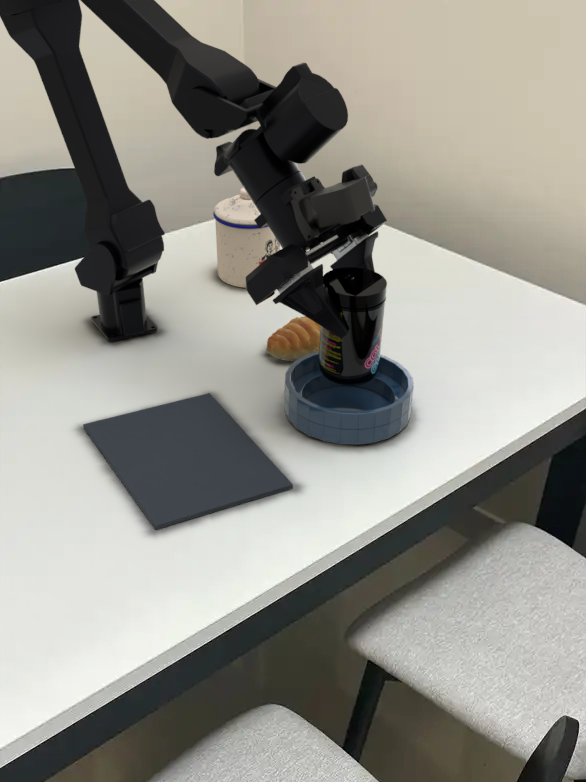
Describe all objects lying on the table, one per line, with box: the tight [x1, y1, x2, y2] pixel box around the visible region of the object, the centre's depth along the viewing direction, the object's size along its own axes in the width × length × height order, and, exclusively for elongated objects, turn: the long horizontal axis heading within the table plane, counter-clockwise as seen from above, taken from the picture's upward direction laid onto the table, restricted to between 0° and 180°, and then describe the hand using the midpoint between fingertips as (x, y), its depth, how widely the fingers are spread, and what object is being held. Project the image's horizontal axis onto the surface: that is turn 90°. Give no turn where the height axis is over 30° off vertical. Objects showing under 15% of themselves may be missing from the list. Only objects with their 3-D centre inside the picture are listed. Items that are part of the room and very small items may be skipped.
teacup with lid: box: [212, 187, 281, 289], centre depth 131 cm, size 12×9×12 cm
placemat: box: [82, 392, 294, 530], centre depth 101 cm, size 20×15×1 cm
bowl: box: [284, 351, 415, 445], centre depth 108 cm, size 14×14×4 cm
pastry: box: [265, 316, 320, 362], centre depth 118 cm, size 9×7×4 cm
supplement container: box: [319, 267, 388, 386], centre depth 102 cm, size 7×7×10 cm
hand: (362, 323), depth 101 cm, fingers closed on supplement container, 7 cm apart
